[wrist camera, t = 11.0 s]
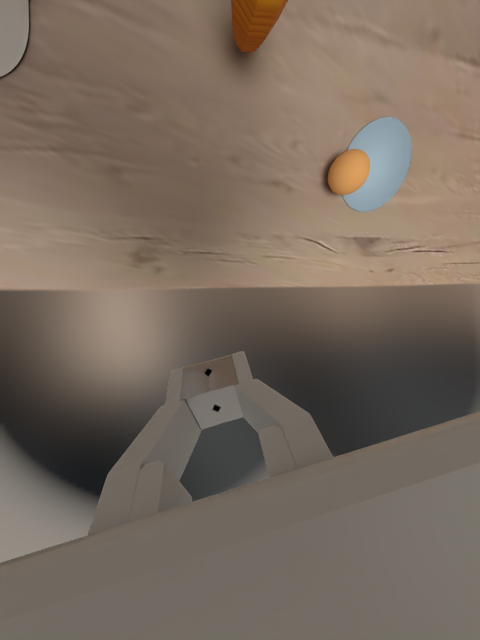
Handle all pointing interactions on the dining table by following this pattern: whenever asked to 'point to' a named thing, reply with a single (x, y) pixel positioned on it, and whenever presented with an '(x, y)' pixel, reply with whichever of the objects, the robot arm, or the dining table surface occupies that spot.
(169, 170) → the dining table surface
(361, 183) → the ball
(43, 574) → the robot arm
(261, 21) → the carrot
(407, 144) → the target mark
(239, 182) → the dining table surface
